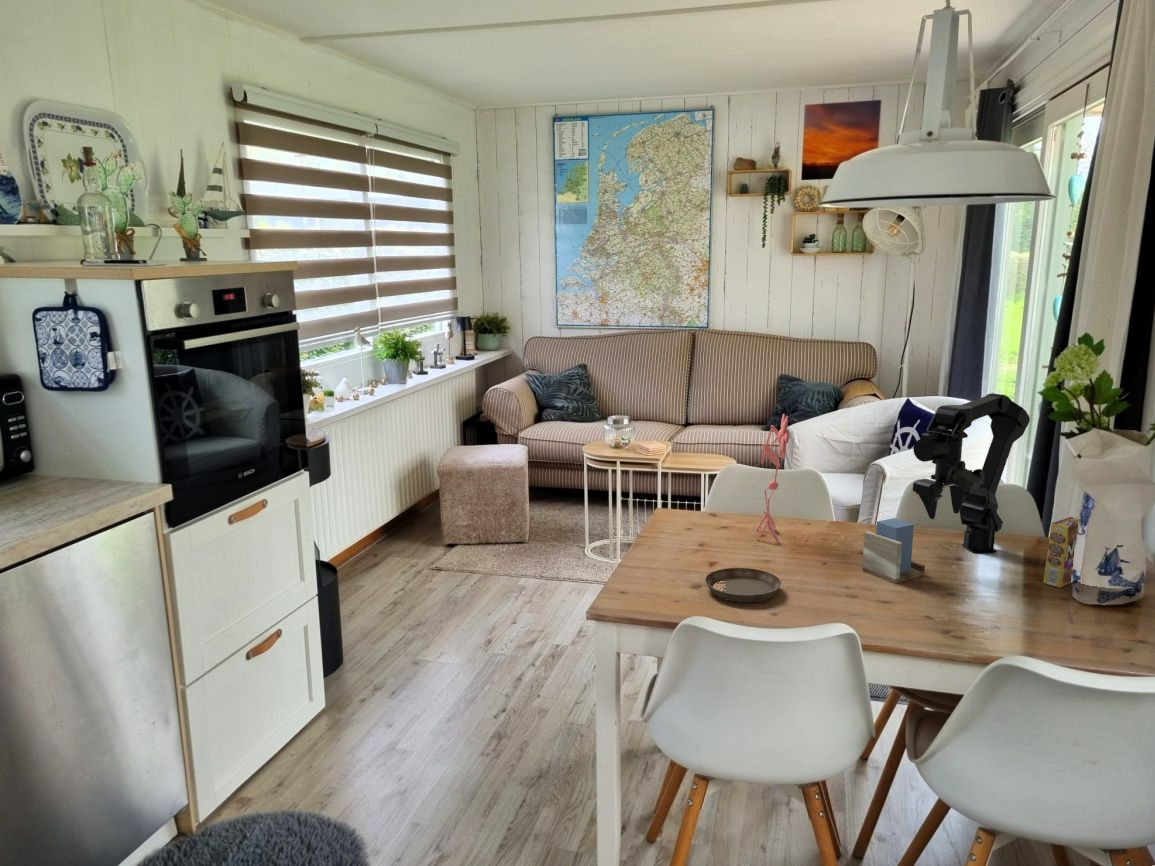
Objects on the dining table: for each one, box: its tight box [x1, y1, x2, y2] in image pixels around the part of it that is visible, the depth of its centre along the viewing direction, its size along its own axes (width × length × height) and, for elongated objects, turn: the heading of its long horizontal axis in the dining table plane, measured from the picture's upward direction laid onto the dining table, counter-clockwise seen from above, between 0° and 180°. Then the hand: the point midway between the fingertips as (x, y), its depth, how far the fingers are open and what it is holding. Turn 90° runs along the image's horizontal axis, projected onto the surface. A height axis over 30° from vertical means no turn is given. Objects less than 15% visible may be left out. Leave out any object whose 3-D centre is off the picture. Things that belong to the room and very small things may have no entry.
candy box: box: [1043, 516, 1080, 589], centre depth 199 cm, size 9×4×15 cm, turn 123°
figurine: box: [753, 413, 808, 548], centre depth 232 cm, size 15×26×35 cm, turn 168°
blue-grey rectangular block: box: [875, 517, 915, 574], centre depth 206 cm, size 7×6×12 cm
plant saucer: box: [704, 567, 782, 603], centre depth 197 cm, size 18×18×3 cm
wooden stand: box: [861, 531, 926, 584], centre depth 207 cm, size 10×10×10 cm
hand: (944, 516), depth 213 cm, fingers open, 9 cm apart
